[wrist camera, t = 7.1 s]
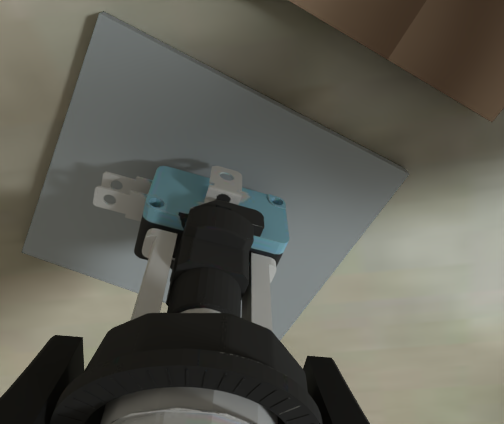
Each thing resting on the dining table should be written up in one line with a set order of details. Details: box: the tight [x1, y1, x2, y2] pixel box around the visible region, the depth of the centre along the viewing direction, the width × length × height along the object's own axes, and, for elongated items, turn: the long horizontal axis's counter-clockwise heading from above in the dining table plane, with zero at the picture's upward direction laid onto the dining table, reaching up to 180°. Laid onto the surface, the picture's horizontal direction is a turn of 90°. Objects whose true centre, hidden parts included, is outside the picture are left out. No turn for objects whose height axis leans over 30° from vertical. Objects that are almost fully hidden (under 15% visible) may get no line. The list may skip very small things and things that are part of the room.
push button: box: [50, 166, 323, 424], centre depth 12 cm, size 7×5×10 cm
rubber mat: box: [22, 11, 409, 340], centre depth 17 cm, size 12×10×1 cm
